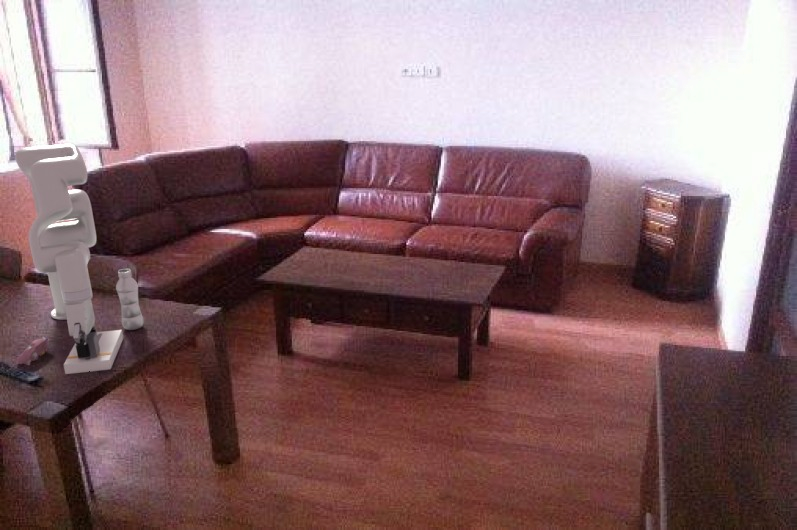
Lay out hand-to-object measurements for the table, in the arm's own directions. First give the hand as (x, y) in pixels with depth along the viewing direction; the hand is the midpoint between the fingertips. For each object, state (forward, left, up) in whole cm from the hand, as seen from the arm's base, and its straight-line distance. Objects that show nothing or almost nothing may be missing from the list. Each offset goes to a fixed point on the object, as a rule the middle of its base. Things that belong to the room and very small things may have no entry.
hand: (88, 349), depth 184 cm
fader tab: (0, 0, -2) cm, 2 cm away
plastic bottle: (-23, +8, -5) cm, 25 cm away
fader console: (-6, 0, -5) cm, 8 cm away
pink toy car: (-9, -17, -5) cm, 20 cm away
